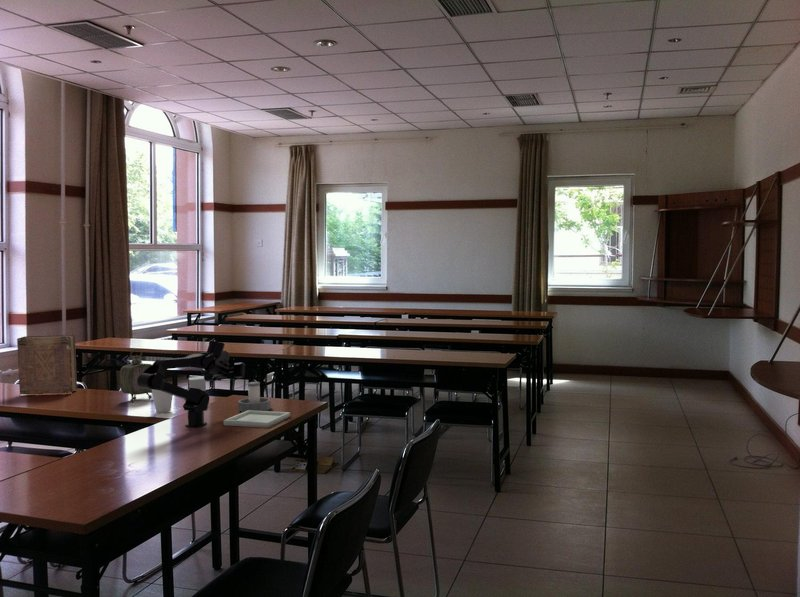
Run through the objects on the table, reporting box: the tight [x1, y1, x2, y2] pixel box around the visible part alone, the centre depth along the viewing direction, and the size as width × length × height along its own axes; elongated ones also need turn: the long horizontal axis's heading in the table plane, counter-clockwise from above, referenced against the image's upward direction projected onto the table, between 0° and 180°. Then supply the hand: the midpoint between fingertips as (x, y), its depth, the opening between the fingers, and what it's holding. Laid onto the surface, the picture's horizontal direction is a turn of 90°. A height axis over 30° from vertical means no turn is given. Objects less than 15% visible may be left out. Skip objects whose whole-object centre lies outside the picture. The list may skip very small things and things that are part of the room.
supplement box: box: [188, 376, 207, 391], centre depth 329 cm, size 7×7×13 cm
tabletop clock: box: [119, 348, 153, 403], centre depth 342 cm, size 14×9×25 cm, turn 150°
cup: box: [151, 389, 174, 414], centre depth 313 cm, size 10×10×11 cm
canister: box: [247, 381, 261, 403], centre depth 316 cm, size 5×5×12 cm
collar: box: [238, 397, 271, 413], centre depth 316 cm, size 14×14×4 cm
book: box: [16, 334, 78, 395], centre depth 363 cm, size 25×9×30 cm, turn 100°
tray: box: [223, 410, 291, 429], centre depth 292 cm, size 20×20×2 cm
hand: (234, 376), depth 308 cm, fingers open, 9 cm apart
